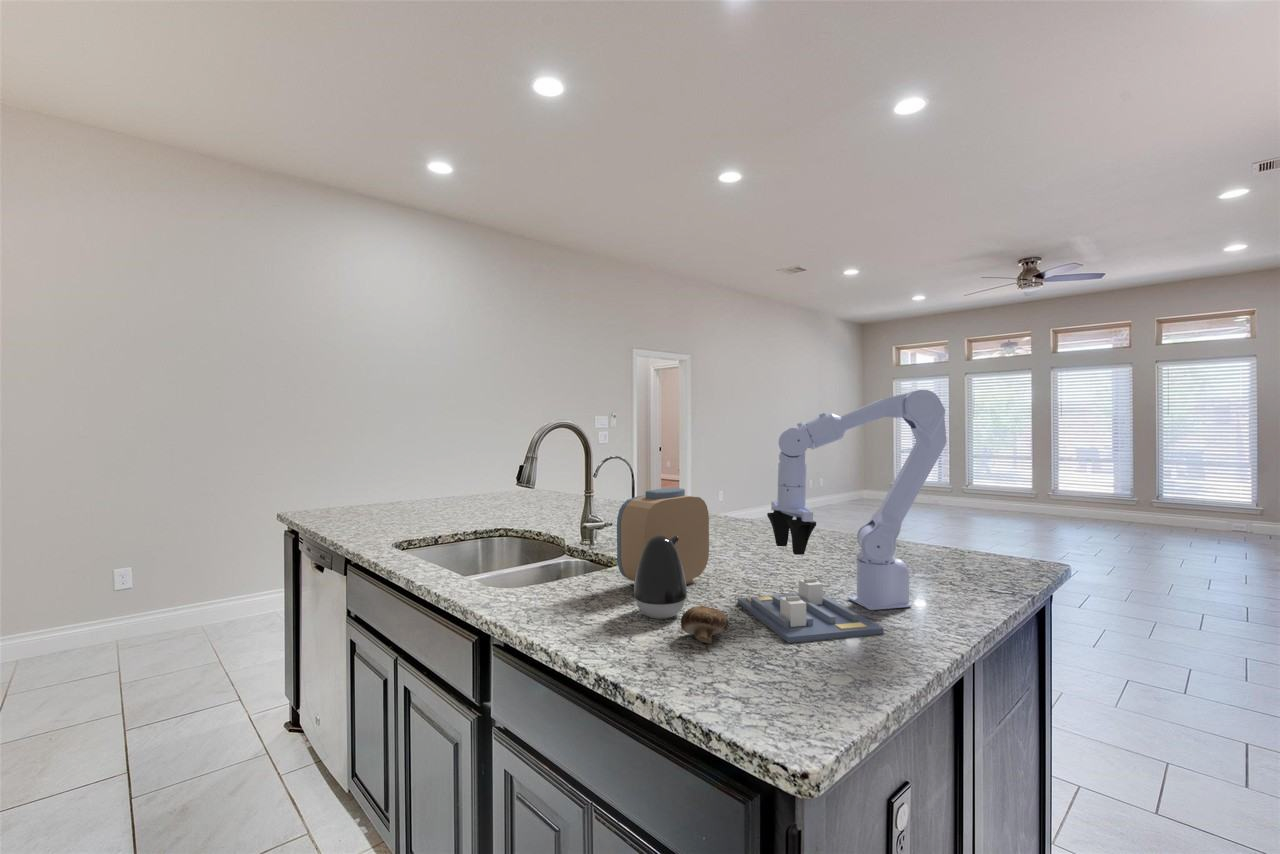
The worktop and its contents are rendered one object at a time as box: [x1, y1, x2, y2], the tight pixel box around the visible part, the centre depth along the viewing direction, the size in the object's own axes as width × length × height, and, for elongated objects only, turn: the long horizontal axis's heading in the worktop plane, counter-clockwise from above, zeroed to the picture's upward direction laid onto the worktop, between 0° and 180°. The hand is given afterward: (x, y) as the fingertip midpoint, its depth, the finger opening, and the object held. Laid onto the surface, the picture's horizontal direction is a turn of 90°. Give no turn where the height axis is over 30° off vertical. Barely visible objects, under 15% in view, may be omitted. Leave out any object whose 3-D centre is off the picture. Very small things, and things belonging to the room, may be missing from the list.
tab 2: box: [798, 577, 824, 605], centre depth 115 cm, size 3×4×5 cm
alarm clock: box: [616, 487, 710, 586], centre depth 132 cm, size 21×10×22 cm, turn 133°
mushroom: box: [680, 605, 730, 645], centre depth 98 cm, size 8×8×6 cm
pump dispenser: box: [633, 536, 688, 620], centre depth 111 cm, size 10×10×15 cm
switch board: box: [737, 592, 884, 644], centre depth 109 cm, size 18×22×2 cm
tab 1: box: [780, 596, 806, 627], centre depth 103 cm, size 3×4×5 cm
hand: (789, 549), depth 121 cm, fingers open, 7 cm apart
